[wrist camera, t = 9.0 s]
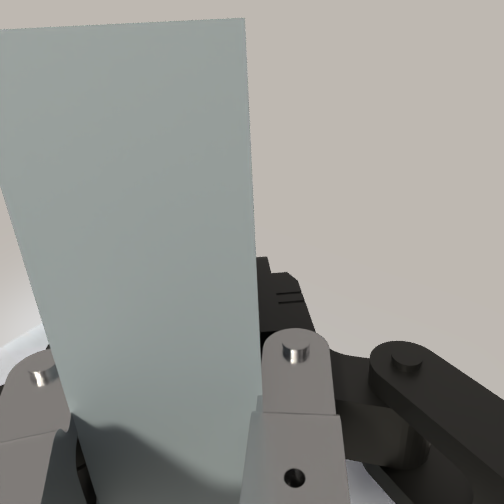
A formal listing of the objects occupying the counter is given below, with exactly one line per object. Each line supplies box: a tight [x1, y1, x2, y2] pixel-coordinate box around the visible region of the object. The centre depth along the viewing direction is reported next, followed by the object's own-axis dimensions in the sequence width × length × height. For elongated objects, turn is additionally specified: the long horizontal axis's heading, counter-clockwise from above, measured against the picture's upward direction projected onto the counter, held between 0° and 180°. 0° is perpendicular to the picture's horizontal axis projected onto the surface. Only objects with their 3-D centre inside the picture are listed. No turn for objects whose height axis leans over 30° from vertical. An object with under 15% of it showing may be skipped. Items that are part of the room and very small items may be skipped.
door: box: [0, 18, 262, 504], centre depth 13 cm, size 12×3×15 cm, turn 4°
